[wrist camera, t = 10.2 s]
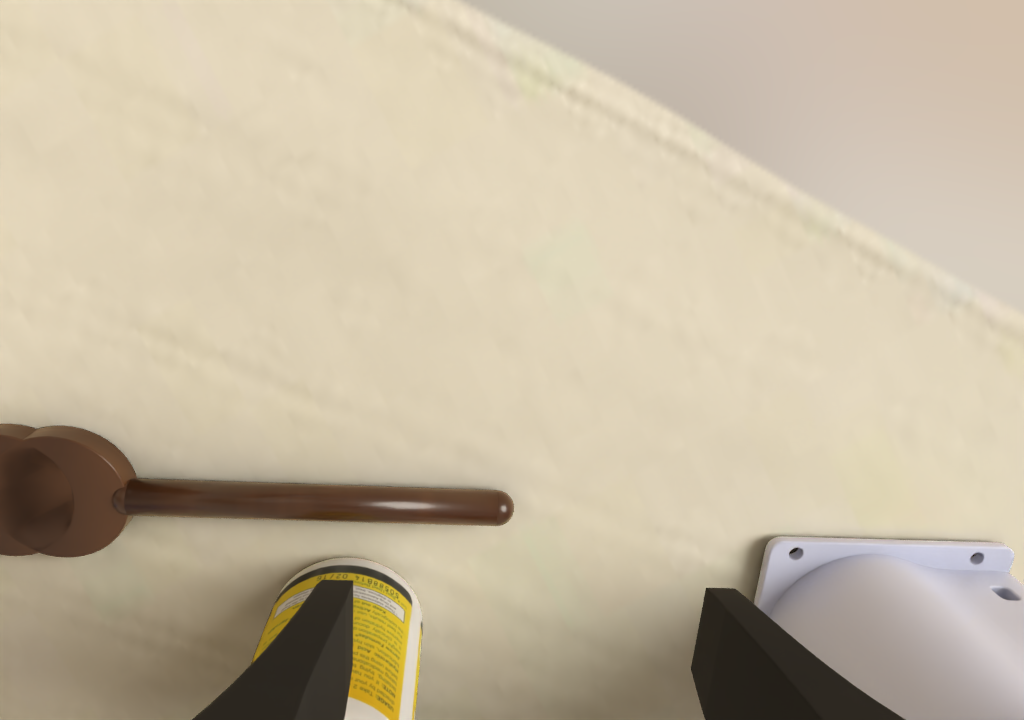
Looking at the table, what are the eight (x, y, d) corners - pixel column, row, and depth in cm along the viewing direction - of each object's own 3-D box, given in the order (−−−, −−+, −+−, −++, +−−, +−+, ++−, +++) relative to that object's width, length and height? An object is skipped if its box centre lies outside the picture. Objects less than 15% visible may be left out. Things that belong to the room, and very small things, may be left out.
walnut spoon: (517, 442, 25) (520, 458, 24) (508, 553, 26) (510, 573, 25) (-62, 420, 23) (-89, 436, 22) (-39, 539, 24) (-64, 560, 23)
